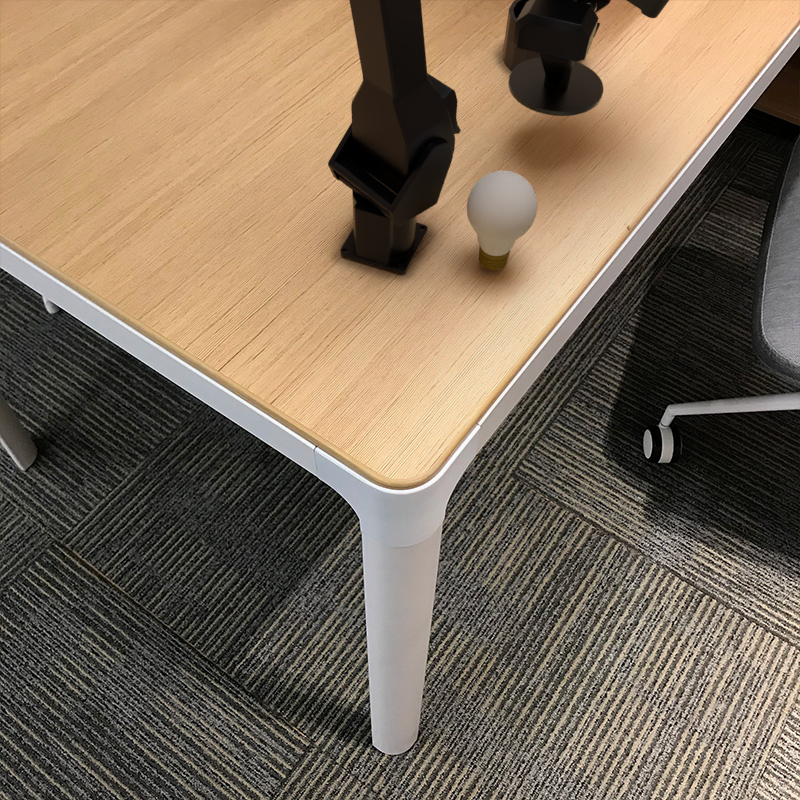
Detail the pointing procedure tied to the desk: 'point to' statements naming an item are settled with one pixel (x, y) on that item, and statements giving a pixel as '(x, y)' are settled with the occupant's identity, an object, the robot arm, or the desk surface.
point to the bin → (510, 51)
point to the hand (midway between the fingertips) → (557, 76)
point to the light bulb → (500, 215)
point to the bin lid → (555, 88)
